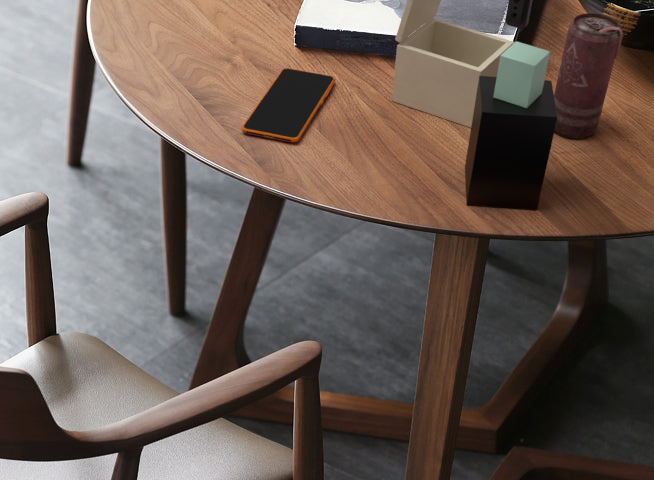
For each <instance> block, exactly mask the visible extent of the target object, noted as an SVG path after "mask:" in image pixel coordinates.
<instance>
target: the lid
mask: <svg viewBox="0 0 654 480" xmlns="http://www.w3.org/2000/svg"><path fill="white" fill-rule="evenodd" d="M441 1H442V0H406V3H405V6H404V8H403V9H404V10H403V12H402V16H401V19H400V22H399V25H398V29H397V32H396V36H395V39H394V40H395V41H396V42H398V44H399V43H401V42H402V41H403V40H405V39H406V38H407V37H408V36H410V35H411V34H412V33H414V32H415V31H416V30H418V29H419V28H420V27H421V26H423V25H424V24H425V23H427V22H428V21H429V20H431V19H432V18H435V17H436V16H437V13H438V10H439V8H440V4H441Z"/></svg>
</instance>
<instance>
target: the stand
mask: <svg viewBox="0 0 654 480" xmlns="http://www.w3.org/2000/svg"><path fill="white" fill-rule="evenodd" d="M496 79H497V77H490V76H479V82H478V88H477V94H476V101H475V107H474V113H473V119H472V126H471V128H470V132H469V139H468V145H467V151H466V158H465V163H464V177H465V178H464V179H465V195H466V196H465V200H466V206H471V207H472V206H474V207H485V208H500V209H513V210H528V211H538V208H539V203H540V199H541V195H542V190H543V185H544V180H545V177H546V176H545V175H546V172H547V166H548V164H549V163H548V162H549V158H550V154H551V149H552V148H551V147H552V144H553V140H554V135H555V132H554V131H555V126H556V122H557V111H556V105H555V100H554V89H553V83H552V80H547V79H545V80H544V85H543V90H542V94H541V95H540V96H539V97H538V98H537V99H536V100H535V101H534V102H533V103H532V104H531V105H530V106H529V107H528V108H524V107H521V106H518V105H515V104H512V103H509V102H506V101H503V100H499V99H496V98H494V97H493V96H494V91H495V85H496Z"/></svg>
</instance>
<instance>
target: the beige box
mask: <svg viewBox="0 0 654 480" xmlns="http://www.w3.org/2000/svg"><path fill="white" fill-rule="evenodd" d="M514 43H515V41H513V40H509V39H506V38H503V37H499V36H496V35H494V34H493V35H492V34H491V33H490V34H489V33H486V32H483V31H479V30H476V29H472V28H469V27H466V26H464V25H463V26H462V25H460V24H456V23H453V22H449V21H446V20H442V19H439V18H436V17H433V18H432V19H430V20H429V21H428V22H426V23H425V24H424V25H423V26H421V27H420V28H419V29H417V30H416V31H415V32H413V33H412V34H411V35H410V36H408V37H407V38H406V39H404V40H403V41H402V42H400V43H399V42H398V44H397V45H396V53H395V54H396V55H395V63H394V75H393V83H392V84H393V85H392V94H391V95H392V96H391V102H393V103H397V104H399V105H402V106H405V107H408V108H411V109H414V110H417V111H420V112H423V113H425V114H429V115H432V116H434V117H438V118H441V119H444V120H447V121H450V122H453V123H454V124H458V125H462V126H464V127H467V128H470V129H471V126H472V119H473V113H474V107H475V101H476V94H477V88H478V82H479V76H490V77H497V73H498V67H499V61H500V56H501V54H503V53H504V52H505V51H506V50H507V49H508V48H509V47H510V46H512V45H513V44H514Z"/></svg>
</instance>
